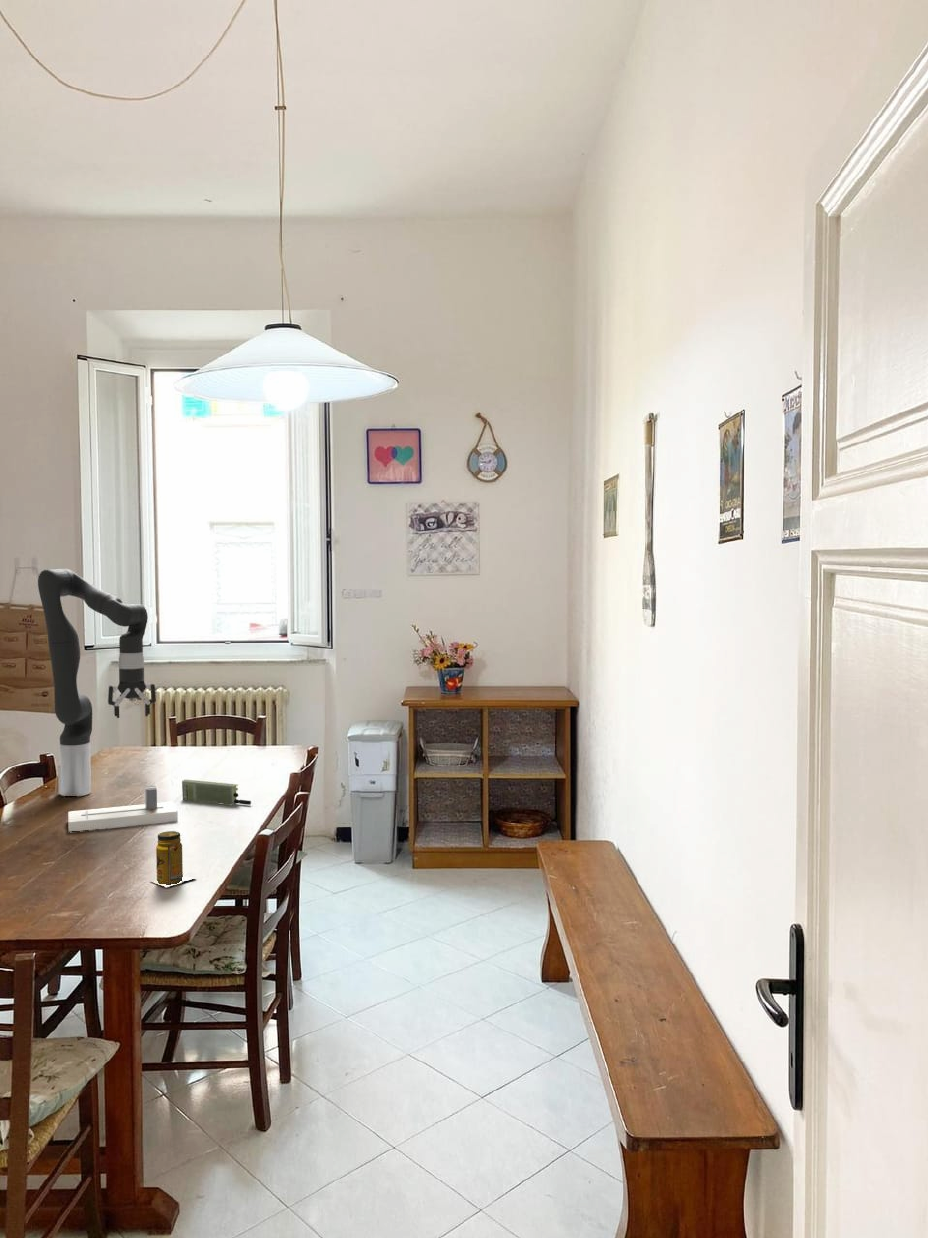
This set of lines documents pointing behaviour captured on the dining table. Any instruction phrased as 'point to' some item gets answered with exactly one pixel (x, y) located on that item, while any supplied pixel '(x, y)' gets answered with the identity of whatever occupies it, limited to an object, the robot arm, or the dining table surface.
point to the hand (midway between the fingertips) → (132, 716)
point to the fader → (150, 797)
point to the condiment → (169, 858)
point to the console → (121, 816)
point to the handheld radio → (211, 792)
